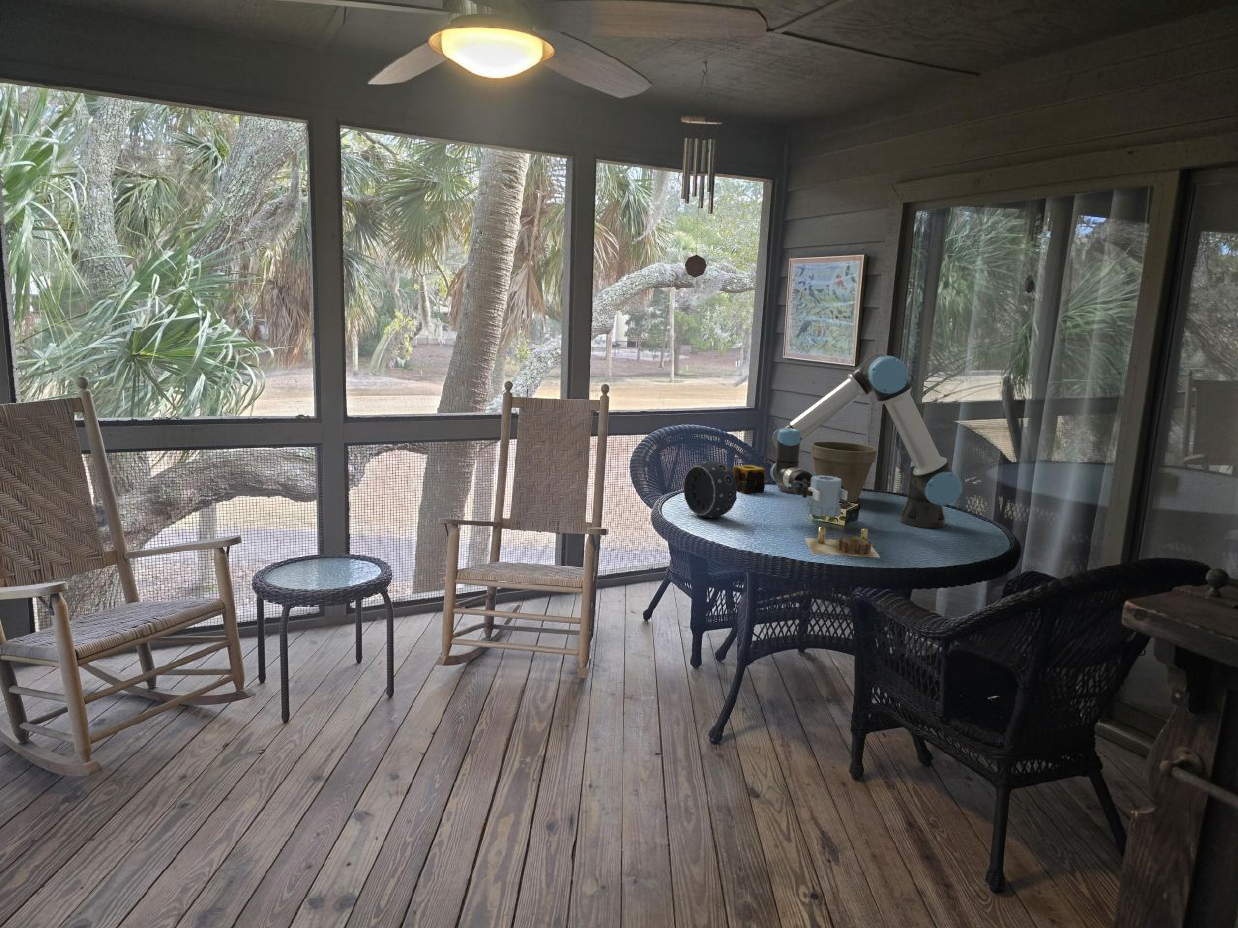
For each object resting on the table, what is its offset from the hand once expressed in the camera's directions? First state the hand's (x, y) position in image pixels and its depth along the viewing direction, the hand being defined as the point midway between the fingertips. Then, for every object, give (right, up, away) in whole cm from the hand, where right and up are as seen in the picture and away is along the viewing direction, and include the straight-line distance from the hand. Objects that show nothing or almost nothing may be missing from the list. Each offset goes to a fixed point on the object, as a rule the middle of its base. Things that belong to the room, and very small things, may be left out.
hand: (832, 496), depth 243 cm
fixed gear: (+7, -17, 0) cm, 18 cm away
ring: (-33, -9, +42) cm, 54 cm away
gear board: (+3, -17, +4) cm, 18 cm away
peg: (-2, -15, +7) cm, 17 cm away
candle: (-12, -2, +87) cm, 88 cm away
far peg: (+11, -15, +7) cm, 20 cm away
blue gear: (-1, -6, +6) cm, 8 cm away
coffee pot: (+2, -2, +87) cm, 87 cm away
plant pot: (+23, -5, +77) cm, 81 cm away
